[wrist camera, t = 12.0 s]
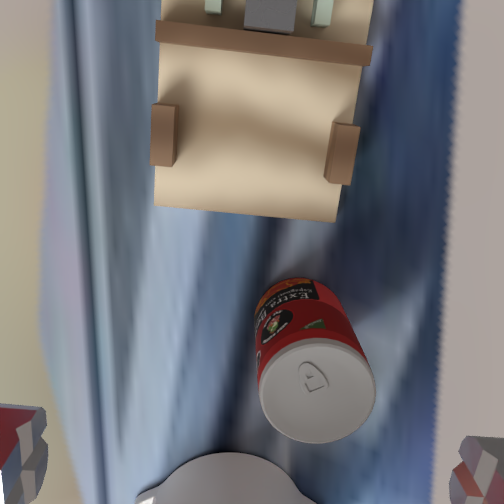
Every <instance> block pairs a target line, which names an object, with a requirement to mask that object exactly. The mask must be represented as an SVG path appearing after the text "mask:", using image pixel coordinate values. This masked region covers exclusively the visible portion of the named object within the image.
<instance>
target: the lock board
mask: <svg viewBox="0 0 504 504" xmlns="http://www.w3.org/2000/svg"><path fill="white" fill-rule="evenodd" d="M373 1H374V0H297V7H296V15H295V23H294V31H293V32H292V33H291V34H290V35H289V36H286V35H278V34H269V33H261V32H253V31H245V30H243V28H244V16H245V5H246V0H162V4H161V20H156V33H155V41H157V42H160V57H159V84H158V103H155V104H152V113H151V143H150V165H153V166H155V190H154V206H165V207H175V208H186V209H196V210H206V211H217V212H227V213H238V214H248V215H259V216H269V217H280V218H290V219H301V220H311V221H321V222H332V223H335V221H336V215H337V209H338V204H339V198H340V192H341V186H342V185H350V184H351V178H352V173H353V167H354V162H355V156H356V150H357V145H358V139H359V134H360V128H361V127H359V126H356V125H354V124H352V123H353V117H354V111H355V105H356V100H357V94H358V88H359V82H360V76H361V71H362V66H370V61H371V56H372V50H373V46H369V45H366V42H367V36H368V30H369V25H370V19H371V13H372V7H373Z"/></svg>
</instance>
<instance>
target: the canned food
mask: <svg viewBox="0 0 504 504" xmlns="http://www.w3.org/2000/svg"><path fill="white" fill-rule="evenodd" d="M254 328H255V345H256V362H257V379H258V390H259V397H260V402H261V406H262V410H263V412H264V414H265V416H266V418H267V419H268V421H269V422H270V423H271V425H272V426H273V427H274V428H275V429H277V430H278V431H279V432H280V433H282V434H283V435H285V436H287V437H288V438H291V439H294V440H296V441H299V442H305V443H315V444H321V443H328V442H333V441H336V440H339V439H342V438H344V437H346V436H348V435H350V434H351V433H353V432H354V431H355V430H357V429H358V428H359V427H360V426H361V425H362V424H363V423H364V422H365V421H366V420H367V418H368V416H369V415H370V413H371V412H372V409H373V406H374V403H375V397H376V386H375V381H374V377H373V374H372V371H371V368H370V366H369V363H368V361H367V358H366V356H365V354H364V352H363V350H362V348H361V346H360V343H359V341H358V339H357V337H356V335H355V333H354V331H353V328H352V326H351V324H350V322H349V320H348V318H347V316H346V314H345V311H344V309H343V307H342V305H341V303H340V301H339V300H338V298H337V296H336V295H335V294H334V293H333V292H332V291H331V290H330V289H328V288H327V287H326V286H324V285H323V284H321V283H319V282H316V281H314V280H311V279H307V278H291V279H286V280H283V281H280V282H279V283H277V284H275V285H273V286H272V287H271V288H270V289H269V290H268V291H267V292H266V293H265V294H264V295H263V297H262V298H261V300H260V301H259V303H258V306H257V308H256V312H255V316H254Z"/></svg>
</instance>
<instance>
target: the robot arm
mask: <svg viewBox="0 0 504 504" xmlns="http://www.w3.org/2000/svg"><path fill="white" fill-rule="evenodd" d="M46 426H47V421H46V411H45V410H44V409H43V408H42V407H34V406H23V405H12V404H1V403H0V504H29V503H30V502H32V501H33V500H34V499H36V497H37V495H38V493H39V491H40V489H41V486H42V484H43V480H44V477H45V473H46V469H47V461H48V444H47V443H46V442H45V441H44V439H42V437H41V435H42V433H43V431H44V429H45V428H46ZM458 452H459V454H460V456H461V458H462V459H463V461H462V462H461V463H460V464H459V465H458V466H457V467H455V468H454V469H453V470H452V474H451V478H450V482H449V492H450V501H451V504H504V438H495V437H480V436H466V437H465V439H464V440H463V441H462V443H461V446H460V449H459V451H458ZM135 504H316V503H315V502H313V501H312V500H310V499H309V498H307V497H305V496H304V495H302V494H301V493H300V491H299V490H298V489H297V487H296V486H295V484H294V482H293V481H292V480H291V478H290V477H289V476H288V475H287V474H286V473H285V472H284V471H283V470H282V469H280V468H279V467H278V466H276V465H275V464H273V463H271V462H269V461H267V460H265V459H263V458H260V457H257V456H253V455H249V454H243V453H216V454H210V455H206V456H202V457H199V458H197V459H194V460H192V461H190V462H188V463H186V464H184V465H183V466H181V467H180V468H178V469H177V470H176V471H174V472H173V473H172V474H171V475H170V476H169V477H168V478H167V479H166V480H165V481H164V482H163V483H162V484H161V485H159V486H158V487H155V488H153V489H151V490H148V491H146V492H144V493H142V494H140V495H139V496H138V497H137V498H136V499H135Z"/></svg>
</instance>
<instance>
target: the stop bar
mask: <svg viewBox="0 0 504 504" xmlns="http://www.w3.org/2000/svg"><path fill="white" fill-rule="evenodd" d="M296 7H297V0H246V5H245V16H244V28H243V30H245V31H253V32H261V33H269V34H278V35H286V36H289V35H290V34H291V33H292V32H293V31H294V23H295V15H296Z"/></svg>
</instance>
